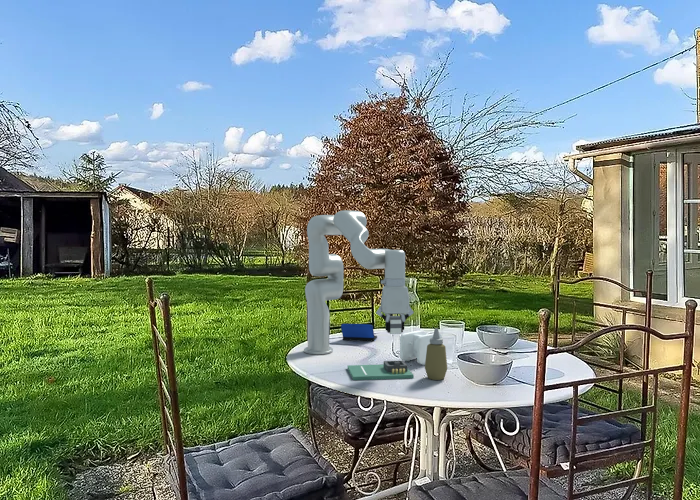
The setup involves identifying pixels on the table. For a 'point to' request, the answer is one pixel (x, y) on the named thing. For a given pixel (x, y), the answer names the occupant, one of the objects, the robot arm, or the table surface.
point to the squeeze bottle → (436, 358)
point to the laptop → (358, 332)
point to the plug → (395, 324)
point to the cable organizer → (415, 346)
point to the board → (380, 371)
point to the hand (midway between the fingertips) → (394, 331)
